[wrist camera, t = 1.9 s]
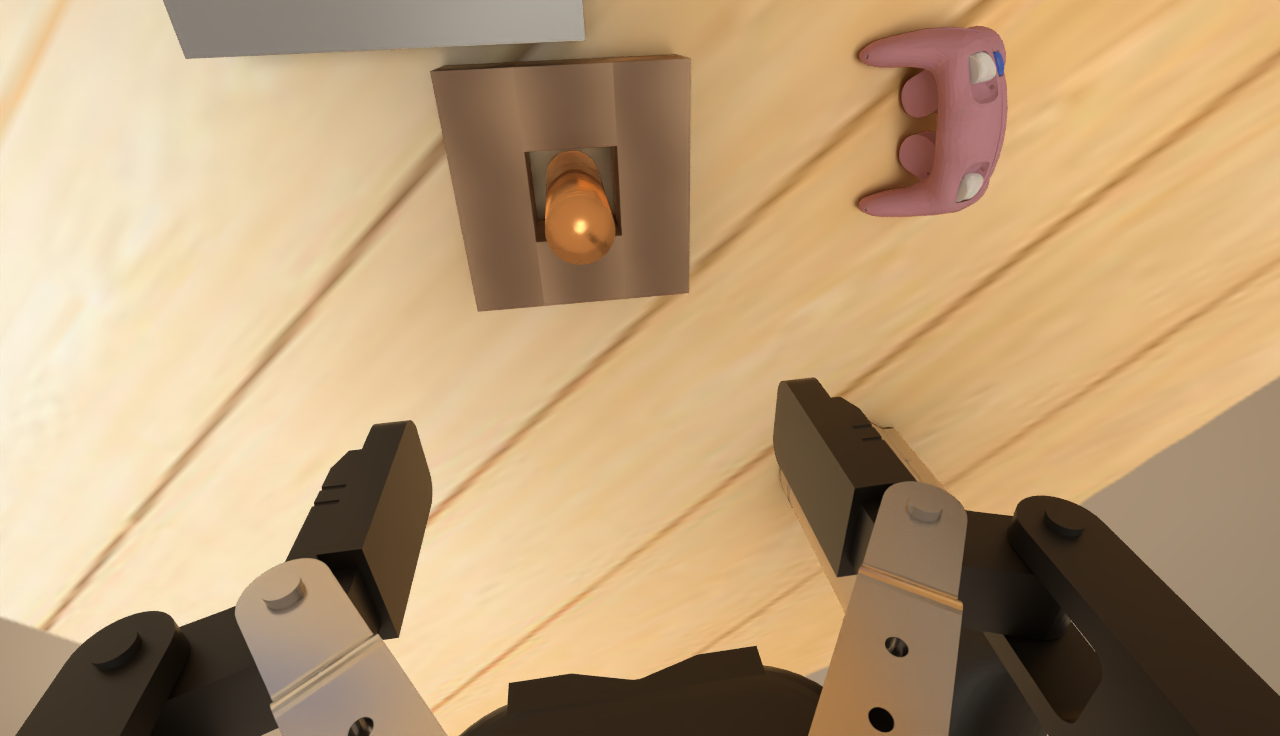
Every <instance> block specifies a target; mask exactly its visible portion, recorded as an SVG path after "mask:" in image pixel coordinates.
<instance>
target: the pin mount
mask: <svg viewBox="0 0 1280 736" xmlns="http://www.w3.org/2000/svg"><path fill="white" fill-rule="evenodd" d="M430 72H431V78H432V83H433V88H434V93H435V98H436V103H437V108H438V113H439V118H440V123H441V128H442V133H443V138H444V143H445V148H446V153H447V158H448V163H449V168H450V173H451V178H452V183H453V188H454V194H455V199H456V204H457V209H458V214H459V219H460V224H461V229H462V234H463V239H464V244H465V249H466V254H467V259H468V264H469V269H470V274H471V279H472V284H473V289H474V294H475V299H476V304H477V309H478V312H479V311H491V310H502V309H513V308H525V307H536V306H548V305H559V304H570V303H582V302H593V301H604V300H616V299H627V298H639V297H650V296H661V295H673V294H684V293H689V221H690V89H691V59H690V58H687V57H683V56H679V55H676V54H674V55H653V56H633V57H612V58H592V59H571V60H551V61H530V62H510V63H489V64H469V65H448V66H442V67H440V68H437V69H435V70H433V71H430ZM610 146H611V155H612V172H613V189H614V206H615V215H612V216H613V219H614V223H615V238H614V242H613V244H612V246H611V248H610V250H609V251H608V252H607V253H606V254H605V255H604V256H603V257H602V258H601V259H599V260H597V261H595V262H593V263H590V264H584V265H577V264H572V263H568V262H566V261H564V260H562V259H560V258H559V257H558V256H557V255H555V253H554V252H553V251H552V250H551V248H550V247H549V245H548V243H547V240H546V235H545V220H537V212H536V205H535V197H534V189H533V181H532V174H531V166H530V158H529V152H530V151H546V150H562V149H578V148H594V147H610Z"/></svg>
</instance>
